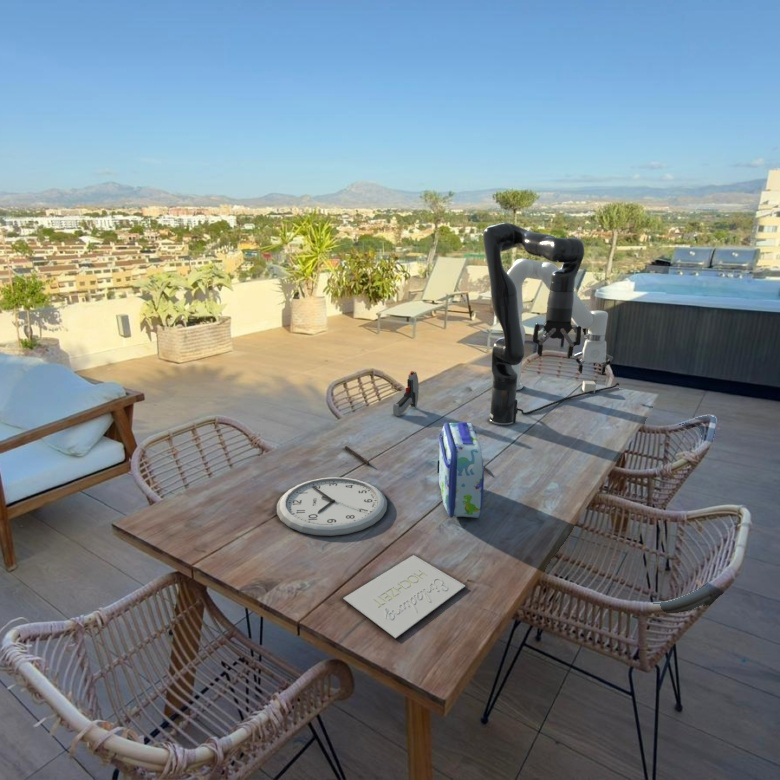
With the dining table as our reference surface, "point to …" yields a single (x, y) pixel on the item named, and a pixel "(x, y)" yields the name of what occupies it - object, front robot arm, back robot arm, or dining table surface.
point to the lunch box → (461, 470)
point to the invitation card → (404, 595)
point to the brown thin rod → (357, 455)
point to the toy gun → (408, 395)
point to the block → (589, 386)
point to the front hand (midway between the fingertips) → (554, 357)
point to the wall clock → (331, 506)
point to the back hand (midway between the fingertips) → (591, 373)
